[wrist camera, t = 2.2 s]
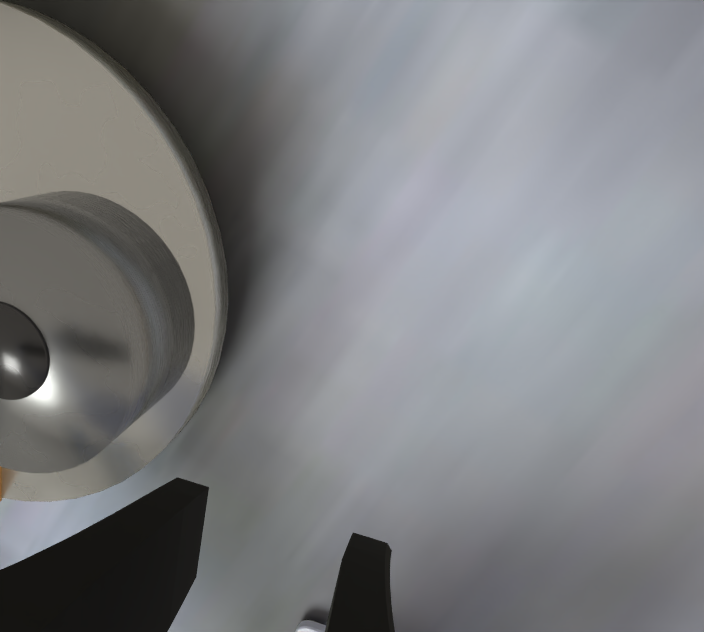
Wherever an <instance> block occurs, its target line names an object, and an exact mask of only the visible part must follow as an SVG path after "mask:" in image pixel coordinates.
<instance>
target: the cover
mask: <svg viewBox="0 0 704 632" xmlns="http://www.w3.org/2000/svg"><path fill="white" fill-rule="evenodd" d="M194 332H195V320H194V308H193V303H192V299H191V294H190V291H189V288H188V285H187V282H186V279H185V277H184V274H183V272H182V270H181V268H180V266H179V264H178V262H177V261H176V259H175V257H174V256H173V254H172V252H171V251H170V249H169V248H168V247H167V245H166V244H165V243H164V241H163V240H162V239H161V238H160V236H159V235H158V234H157V233H156V232H155V231H154V230H153V229H152V228H151V227H150V226H149V225H148V224H147V223H145V222H144V221H143V220H142V219H140V218H139V217H138V216H137V215H136V214H134V213H133V212H131V211H129V210H128V209H126V208H125V207H123V206H121V205H119V204H117V203H115V202H113V201H111V200H109V199H106V198H103V197H100V196H97V195H94V194H90V193H84V192H79V191H58V192H49V193H44V194H39V195H34V196H29V197H25V198H20V199H15V200H10V201H5V202H0V467H3V468H7V469H11V470H15V471H20V472H27V473H53V472H61V471H64V470H68V469H71V468H75V467H77V466H79V465H81V464H83V463H85V462H87V461H89V460H90V459H92V458H93V457H94V456H96V455H97V454H99V453H100V452H101V451H102V450H103V449H104V448H106V447H107V446H108V445H109V444H110V443H111V442H112V441H114V440H115V439H116V438H117V437H118V436H119V435H121V434H122V433H123V432H124V431H125V430H126V429H127V428H129V427H130V426H131V425H132V424H133V423H134V422H135V421H137V420H138V419H139V418H140V417H141V416H142V415H143V414H145V413H146V412H147V411H148V410H149V409H150V408H152V407H153V406H154V405H155V404H156V403H157V402H158V401H160V400H161V399H162V398H163V397H164V396H165V395H166V394H167V393H168V392H169V391H170V390H171V389H172V388H173V387H174V386H175V385H176V383H177V382H178V381H179V379H180V378H181V376H182V374H183V372H184V371H185V369H186V367H187V364H188V361H189V359H190V356H191V353H192V347H193V342H194Z"/></svg>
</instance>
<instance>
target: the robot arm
mask: <svg viewBox="0 0 704 632" xmlns="http://www.w3.org/2000/svg"><path fill="white" fill-rule="evenodd" d="M208 490H209V487H206V486H203V485H200V484H197V483H194V482H190V481H187V480H184V479H181V478H176V479H174V480H172V481H170V482H168V483H166V484H165V485H163V486H161V487H159V488H157V489H156V490H154V491H152V492H150V493H149V494H147V495H145V496H143V497H142V498H140V499H138V500H136V501H135V502H133V503H131V504H129V505H128V506H126V507H124V508H122V509H121V510H119V511H117V512H115V513H114V514H112V515H110V516H108V517H106V518H104V519H103V520H101V521H99V522H97V523H95V524H93V525H92V526H90V527H88V528H86V529H84V530H82V531H80V532H79V533H77V534H75V535H73V536H71V537H69V538H67V539H65V540H63V541H61V542H59V543H57V544H55V545H53V546H51V547H49V548H47V549H45V550H43V551H41V552H39V553H36V554H34V555H32V556H30V557H28V558H26V559H24V560H22V561H20V562H18V563H15V564H13V565H11V566H9V567H6V568H4V569H1V570H0V632H167V631H168V629H169V628H170V626H171V624H172V622H173V620H174V618H175V617H176V615H177V613H178V611H179V609H180V607H181V605H182V603H183V601H184V600H185V598H186V596H187V594H188V592H189V590H190V588H191V586H192V584H193V582H194V580H195V578H196V574H197V567H198V560H199V553H200V546H201V539H202V532H203V525H204V518H205V511H206V504H207V497H208ZM391 552H392V550H391V549H390V547H389V545H388V544H387V543H385V542H382V541H379V540H375V539H372V538H369V537H366V536H363V535H359V534H356V533H353V534H352V536H351V538H350V541H349V543H348V546H347V548H346V551H345V553H344V556H343V558H342V562H341V566H340V571H339V575H338V579H337V583H336V587H335V591H334V596H333V600H332V604H331V608H330V612H329V616H328V621H327V625H323V624H320V623H317V622H314V621H310V620H304V621H302V622H300V623H299V624H298V626H297V629H296V632H395V630H394V623H393V615H392V606H391V592H390V558H391Z"/></svg>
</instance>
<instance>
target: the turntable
mask: <svg viewBox="0 0 704 632" xmlns="http://www.w3.org/2000/svg"><path fill="white" fill-rule="evenodd" d="M58 191H79V192H84V193H90V194H94V195H97V196H100V197H103V198H106V199H109V200H111V201H113V202H115V203H117V204H119V205H121V206H123V207H125V208H126V209H128V210H129V211H131V212H133V213H134V214H136V215H137V216H138V217H139V218H140V219H142V220H143V221H144V222H145V223H147V224H148V225H149V226H150V227H151V228H152V229H153V230H154V231H155V232H156V233H157V234H158V235H159V236H160V238H161V239H162V240H163V241H164V243H165V244H166V245H167V247H168V248H169V249H170V251H171V252H172V254H173V256H174V257H175V259H176V261H177V262H178V264H179V266H180V268H181V270H182V272H183V274H184V277H185V279H186V282H187V285H188V288H189V291H190V294H191V299H192V303H193V308H194V320H195V332H194V342H193V347H192V353H191V356H190V359H189V361H188V364H187V367H186V369H185V371H184V372H183V374H182V376H181V378H180V379H179V381H178V382H177V383H176V385H175V386H174V387H173V388H172V389H171V390H170V391H169V392H168V393H167V394H166V395H165V396H164V397H163V398H162V399H161V400H160V401H158V402H157V403H156V404H155V405H154V406H153V407H152V408H150V409H149V410H148V411H147V412H146V413H145V414H143V415H142V416H141V417H140V418H139V419H138V420H137V421H135V422H134V423H133V424H132V425H131V426H130V427H129V428H127V429H126V430H125V431H124V432H123V433H122V434H121V435H119V436H118V437H117V438H116V439H115V440H114V441H112V442H111V443H110V444H109V445H108V446H107V447H106V448H104V449H103V450H102V451H101V452H100V453H99V454H97V455H96V456H94V457H93V458H92V459H90V460H89V461H87V462H85V463H83V464H81V465H79V466H77V467H75V468H71V469H68V470H64V471H61V472H53V473H27V472H20V471H15V470H11V469H7V468H3V467H0V501H1V500H2V498H7V499H14V500H20V501H58V500H67V499H75V498H79V497H83V496H86V495H90V494H93V493H97V492H100V491H103V490H105V489H107V488H109V487H111V486H114V485H116V484H118V483H120V482H123V481H124V480H126V479H127V478H129V477H130V476H132V475H133V474H135V473H136V472H138V471H139V470H141V469H142V468H144V467H145V466H146V465H147V464H148V463H149V462H150V461H151V460H153V459H154V458H155V457H156V456H157V455H158V454H159V453H160V452H161V451H162V450H163V449H164V448H165V447H166V446H167V445H168V444H169V443H170V442H171V441H172V440H173V439H174V438H175V437H176V436H177V435H178V434H179V433H180V432H181V431H182V429H183V428H184V427H185V425H186V424H187V423H188V422H189V420H190V419H191V418H192V416H193V415H194V414H195V413H196V411H197V410H198V408H199V406H200V404H201V402H202V401H203V399H204V397H205V395H206V393H207V391H208V390H209V388H210V386H211V383H212V380H213V377H214V375H215V372H216V369H217V367H218V364H219V361H220V357H221V352H222V348H223V343H224V338H225V333H226V326H227V312H228V281H227V264H226V259H225V254H224V248H223V243H222V237H221V232H220V228H219V225H218V221H217V218H216V215H215V212H214V208H213V205H212V202H211V199H210V195H209V193H208V191H207V188H206V186H205V184H204V182H203V179H202V177H201V175H200V173H199V170H198V168H197V166H196V164H195V161H194V159H193V158H192V156H191V154H190V152H189V151H188V149H187V147H186V146H185V144H184V142H183V141H182V139H181V137H180V135H179V134H178V132H177V130H176V129H175V127H174V126H173V124H172V123H171V122H170V120H169V119H168V118H167V116H166V115H165V114H164V112H163V111H162V110H161V108H160V107H159V106H158V104H157V103H156V102H155V100H154V99H153V98H152V96H151V95H150V94H149V93H148V92H147V91H146V90H145V89H144V88H143V87H142V86H141V85H140V84H139V83H138V82H137V80H136V79H135V78H134V77H133V76H132V75H131V74H130V73H129V72H128V71H127V70H126V69H125V68H124V67H123V66H122V65H120V64H119V63H118V62H117V61H116V60H114V59H113V58H112V57H111V56H109V55H108V54H107V53H106V52H105V51H103V50H102V49H101V48H100V47H99V46H97V45H96V44H95V43H93V42H92V41H90V40H89V39H87V38H85V37H84V36H82V35H81V34H79V33H77V32H76V31H74V30H73V29H71V28H70V27H68V26H66V25H65V24H63V23H61V22H59V21H56V20H54V19H52V18H50V17H48V16H45V15H43V14H41V13H39V12H37V11H35V10H32V9H29V8H26V7H23V6H19V5H16V4H12V3H9V2H6V1H2V0H0V202H5V201H10V200H15V199H20V198H25V197H29V196H34V195H39V194H44V193H49V192H58Z"/></svg>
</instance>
